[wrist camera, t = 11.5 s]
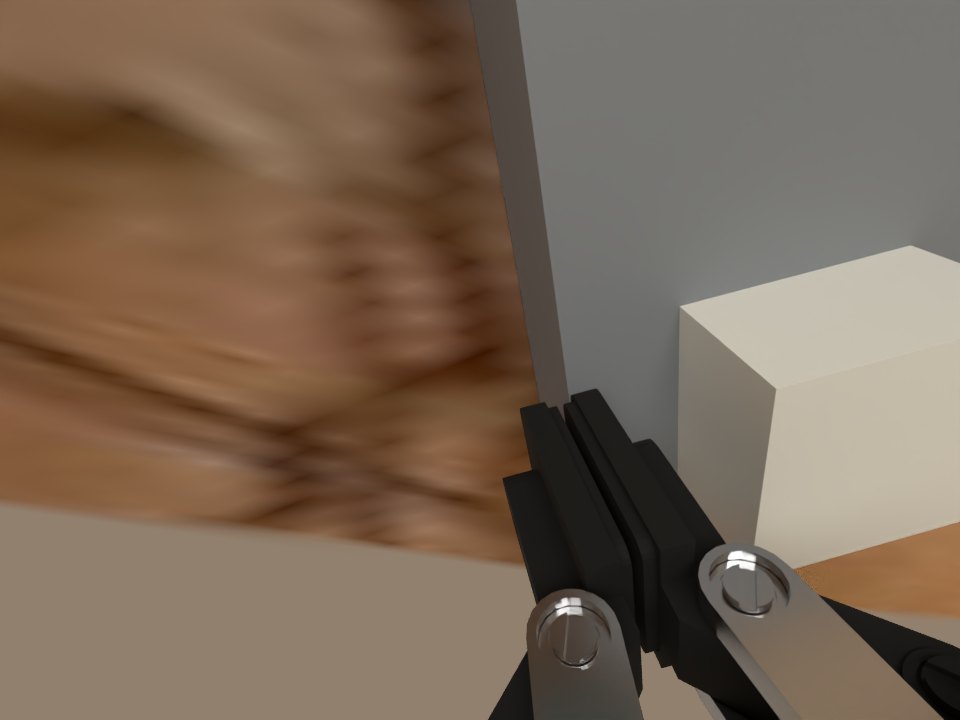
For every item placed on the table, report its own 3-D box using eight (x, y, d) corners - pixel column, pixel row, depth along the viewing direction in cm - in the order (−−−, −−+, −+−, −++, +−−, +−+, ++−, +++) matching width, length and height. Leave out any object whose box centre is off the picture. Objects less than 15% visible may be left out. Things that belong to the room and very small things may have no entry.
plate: (1355, -599, 8) (2018, -1039, 5) (987, 336, 18) (1128, 402, 15) (400, -400, 8) (415, -745, 4) (548, 456, 17) (589, 553, 14)
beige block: (910, 245, 11) (1078, 307, 8) (862, 427, 13) (976, 517, 11) (679, 306, 10) (776, 388, 8) (677, 478, 13) (748, 581, 11)
